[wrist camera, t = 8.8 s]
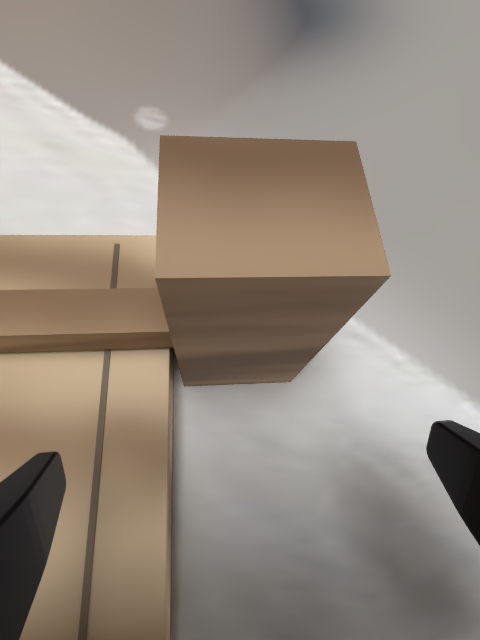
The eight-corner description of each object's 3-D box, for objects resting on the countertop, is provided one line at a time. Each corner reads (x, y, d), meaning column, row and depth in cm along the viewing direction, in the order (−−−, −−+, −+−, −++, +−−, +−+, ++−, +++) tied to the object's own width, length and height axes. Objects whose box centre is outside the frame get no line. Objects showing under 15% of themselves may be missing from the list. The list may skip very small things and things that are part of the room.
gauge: (303, 381, 17) (419, 275, 8) (-38, 395, 15) (-405, 284, 6) (293, 305, 18) (379, 142, 9) (-17, 311, 17) (-286, 121, 8)
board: (167, 799, 11) (160, 866, 9) (-111, 844, 10) (-183, 928, 8) (174, 258, 19) (171, 234, 17) (16, 259, 18) (-6, 234, 16)
